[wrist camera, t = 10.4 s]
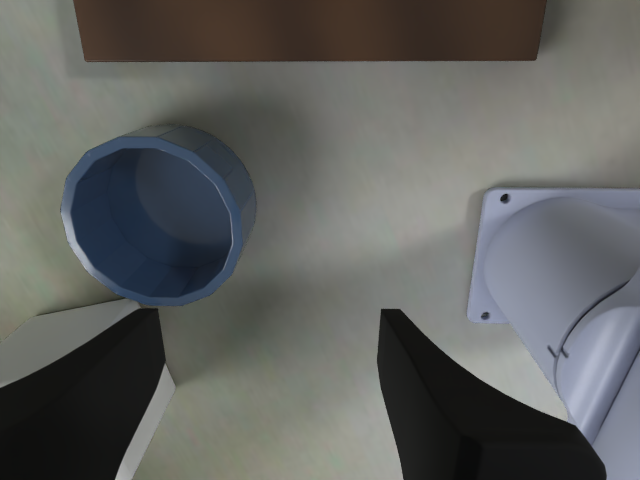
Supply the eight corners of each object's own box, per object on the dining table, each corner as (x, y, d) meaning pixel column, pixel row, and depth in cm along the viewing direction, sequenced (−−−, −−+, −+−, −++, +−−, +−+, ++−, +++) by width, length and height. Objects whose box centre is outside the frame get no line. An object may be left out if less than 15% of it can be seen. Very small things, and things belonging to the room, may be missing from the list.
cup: (251, 123, 22) (234, 137, 18) (260, 270, 25) (247, 307, 21) (90, 123, 22) (41, 136, 18) (119, 269, 25) (82, 305, 21)
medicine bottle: (29, 315, 26) (-191, 498, 15) (137, 294, 26) (-14, 471, 15) (79, 404, 29) (-79, 616, 18) (179, 388, 28) (77, 598, 17)
